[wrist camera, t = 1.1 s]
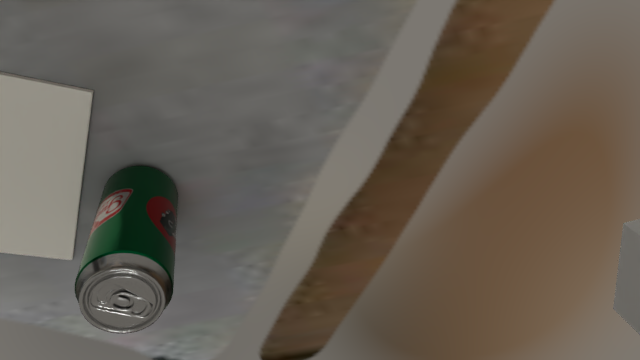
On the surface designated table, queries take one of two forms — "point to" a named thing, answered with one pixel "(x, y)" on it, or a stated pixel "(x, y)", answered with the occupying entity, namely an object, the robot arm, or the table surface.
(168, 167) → the table surface
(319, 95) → the table surface
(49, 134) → the folded white napkin
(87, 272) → the soda can
